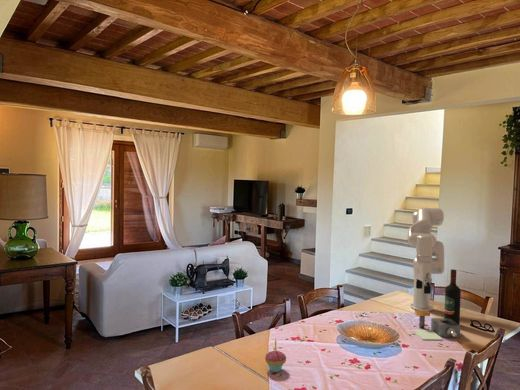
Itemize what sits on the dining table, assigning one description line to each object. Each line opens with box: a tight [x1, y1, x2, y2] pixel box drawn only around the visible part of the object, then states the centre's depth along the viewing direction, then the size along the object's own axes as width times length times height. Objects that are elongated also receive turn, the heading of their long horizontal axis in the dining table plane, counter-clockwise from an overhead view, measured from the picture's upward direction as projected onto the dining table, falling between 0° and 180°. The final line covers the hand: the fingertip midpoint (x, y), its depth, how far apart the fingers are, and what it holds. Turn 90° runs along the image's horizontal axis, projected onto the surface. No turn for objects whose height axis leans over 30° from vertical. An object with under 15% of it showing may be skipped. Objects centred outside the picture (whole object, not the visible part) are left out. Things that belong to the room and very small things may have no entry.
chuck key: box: [414, 309, 431, 330], centre depth 203 cm, size 3×7×9 cm, turn 90°
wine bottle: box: [443, 269, 462, 326], centre depth 209 cm, size 8×8×30 cm
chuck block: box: [430, 317, 461, 338], centre depth 194 cm, size 15×10×6 cm
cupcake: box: [264, 337, 287, 373], centre depth 154 cm, size 9×8×12 cm
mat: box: [412, 329, 444, 341], centre depth 193 cm, size 12×10×1 cm
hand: (423, 290), depth 202 cm, fingers open, 9 cm apart
